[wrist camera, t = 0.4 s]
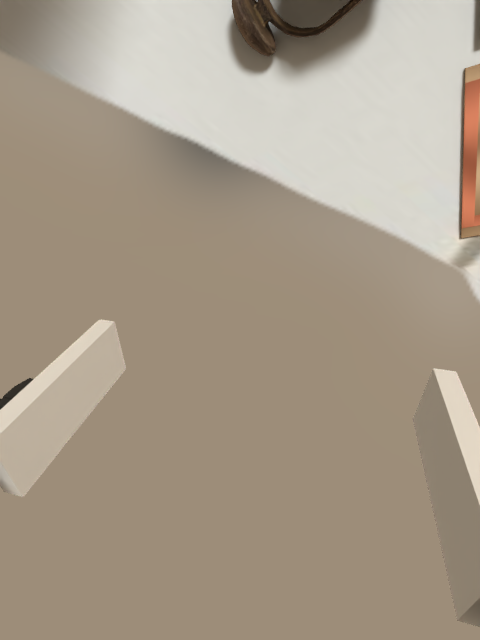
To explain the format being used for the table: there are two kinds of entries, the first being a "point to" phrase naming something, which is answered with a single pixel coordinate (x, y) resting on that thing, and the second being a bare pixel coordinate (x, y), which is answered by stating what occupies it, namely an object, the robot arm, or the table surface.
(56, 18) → the table surface
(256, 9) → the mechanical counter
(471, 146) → the print sheet
